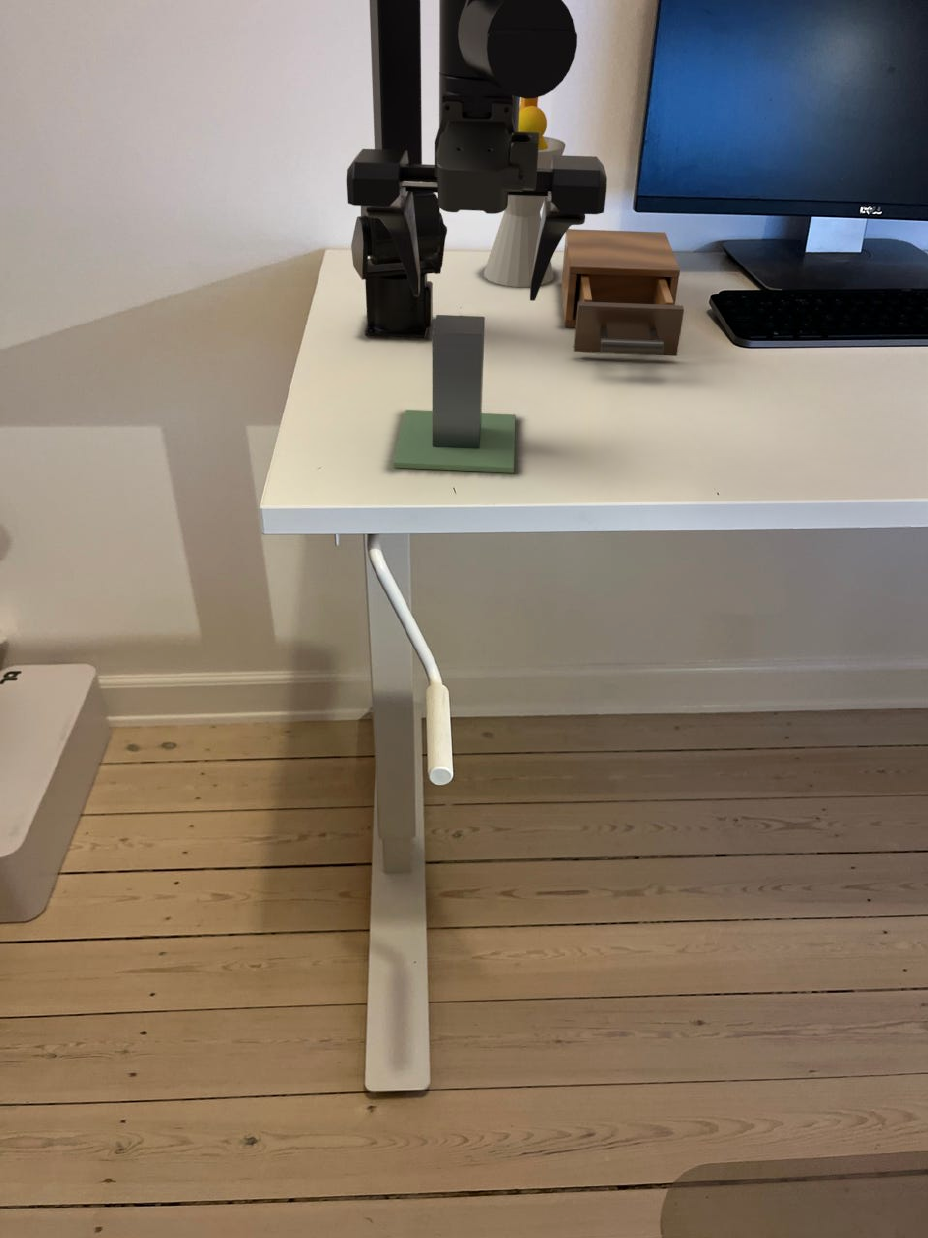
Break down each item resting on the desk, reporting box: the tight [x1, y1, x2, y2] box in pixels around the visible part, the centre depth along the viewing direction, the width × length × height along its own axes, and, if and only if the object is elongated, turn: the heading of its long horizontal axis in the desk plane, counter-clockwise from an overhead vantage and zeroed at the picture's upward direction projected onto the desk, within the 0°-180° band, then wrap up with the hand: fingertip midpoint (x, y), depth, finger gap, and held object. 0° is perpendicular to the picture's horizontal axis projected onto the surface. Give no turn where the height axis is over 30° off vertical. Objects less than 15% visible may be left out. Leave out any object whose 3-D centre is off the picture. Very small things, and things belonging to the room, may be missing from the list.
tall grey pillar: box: [431, 314, 486, 448], centre depth 80 cm, size 4×4×10 cm
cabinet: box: [561, 228, 681, 328], centre depth 109 cm, size 14×12×7 cm
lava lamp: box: [483, 97, 566, 288], centre depth 108 cm, size 9×9×35 cm
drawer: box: [573, 274, 685, 357], centre depth 99 cm, size 17×10×5 cm, turn 177°
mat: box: [393, 409, 516, 474], centre depth 83 cm, size 10×10×1 cm
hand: (474, 296), depth 76 cm, fingers open, 9 cm apart
